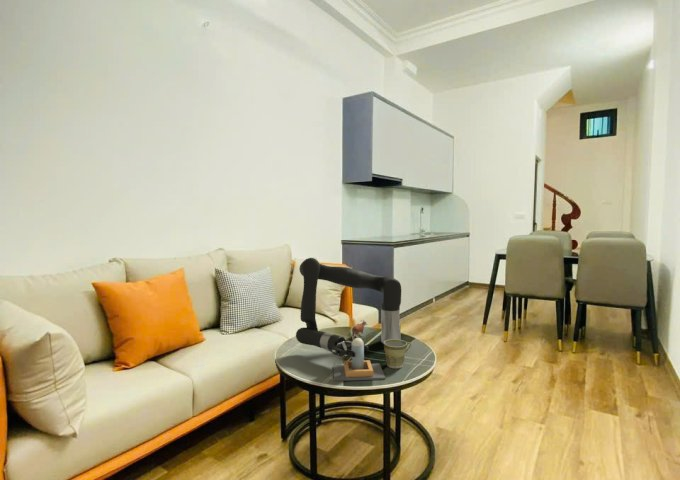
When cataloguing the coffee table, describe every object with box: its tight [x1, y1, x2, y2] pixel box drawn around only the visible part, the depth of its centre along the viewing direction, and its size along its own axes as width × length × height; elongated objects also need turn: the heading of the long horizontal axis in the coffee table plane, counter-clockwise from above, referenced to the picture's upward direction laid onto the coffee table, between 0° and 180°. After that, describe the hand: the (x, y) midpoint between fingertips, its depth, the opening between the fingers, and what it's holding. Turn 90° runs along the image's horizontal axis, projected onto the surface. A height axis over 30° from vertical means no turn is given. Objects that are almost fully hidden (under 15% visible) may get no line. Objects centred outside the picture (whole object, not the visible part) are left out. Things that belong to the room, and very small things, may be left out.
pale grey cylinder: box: [351, 337, 365, 370], centre depth 153 cm, size 5×5×14 cm
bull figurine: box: [351, 319, 368, 340], centre depth 199 cm, size 4×13×8 cm, turn 147°
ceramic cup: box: [382, 339, 412, 369], centre depth 160 cm, size 13×10×10 cm
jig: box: [332, 359, 386, 382], centre depth 153 cm, size 20×14×3 cm
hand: (361, 351), depth 151 cm, fingers open, 8 cm apart
